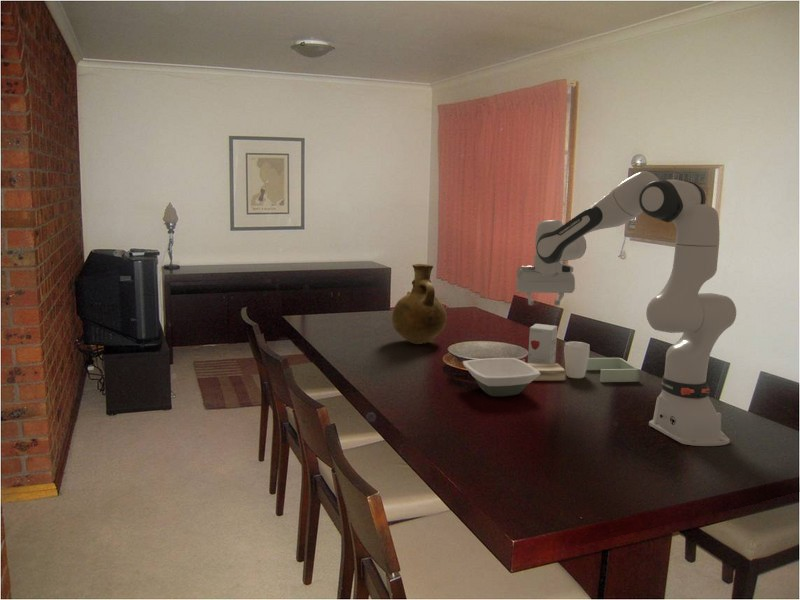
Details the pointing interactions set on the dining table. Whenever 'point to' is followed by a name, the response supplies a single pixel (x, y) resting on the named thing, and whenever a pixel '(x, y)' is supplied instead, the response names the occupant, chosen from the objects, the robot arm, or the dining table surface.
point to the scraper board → (549, 371)
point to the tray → (614, 369)
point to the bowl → (501, 375)
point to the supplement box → (542, 343)
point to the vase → (420, 309)
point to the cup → (576, 358)
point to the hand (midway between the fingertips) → (544, 304)
